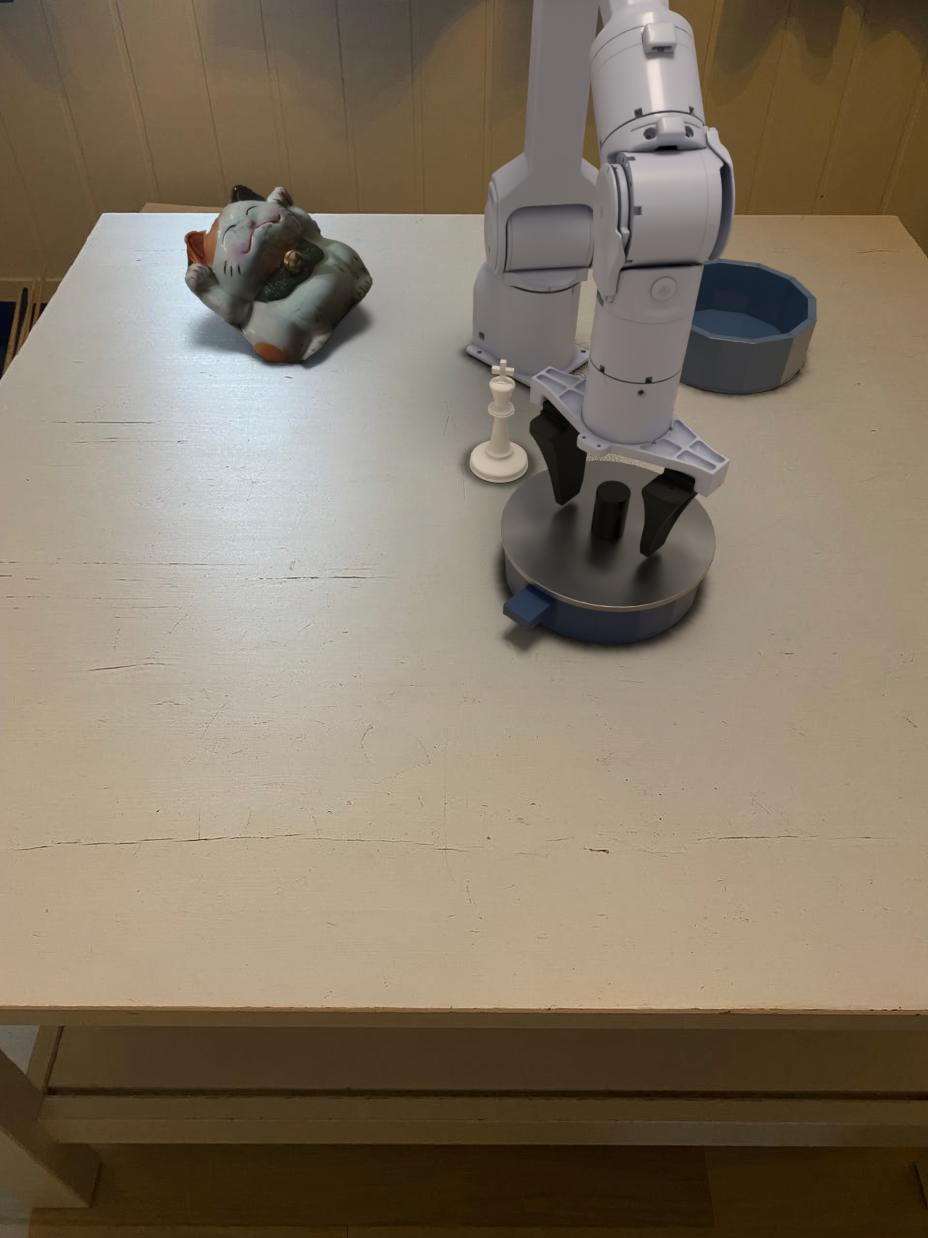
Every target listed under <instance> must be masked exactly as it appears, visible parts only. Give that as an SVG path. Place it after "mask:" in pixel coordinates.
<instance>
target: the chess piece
mask: <svg viewBox="0 0 928 1238" xmlns="http://www.w3.org/2000/svg"><path fill="white" fill-rule="evenodd" d="M506 363H507V360H502V359H501V361H500V366H491V374H493V375H498V376H495V377H492V378H491V379H490V381H489V386H488V387H489V389H490V392H491V394H492V398H493V401H491V402H490V403H489V404H488V407H487V412H488V414H489V415H490V416H492V417H493V418H494V419H493V425H492V430H491V436H490V440H487V441H486V440H485V441H484V442H481V443H479V444H477V445H476V446H475V447H474V449H473V450H472V451H471V454H470V459H469V468H470V470H471V471H472V473H473V474H474V475H475V476H476V477H478V478H479V479H481V480H484V481H486V482H490V483H497V484H499V483H500V484H503V483H509V482H514V481H515V480H518V479H521V477H523V476H524V475H525V473H526V472H527V470H528V468H529V461H528V455H527V452H526V451H525V449H524V448H523V447H521V446H520V445H519V444H517V443H515V442H513V441H510V438H509V437H510V435H509V427H508V418H509V417H511V416H512V415H514V413H515V406H514V404H513V403H512V402H511V401H510V400H511V397H512V394H513V392H514V390H515V388H516V382H515V380H514V379H513V378H512V377H511V376H513V375H514V368H509V367H506Z"/></svg>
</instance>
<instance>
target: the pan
mask: <svg viewBox="0 0 928 1238" xmlns="http://www.w3.org/2000/svg"><path fill="white" fill-rule="evenodd" d="M504 563H505V578H506V583H507V586H508V588H509V591H510V592H511V594H512V597H510V598H509V599H508V600H507V601H505V602H504V603H503V604H502V605H503V606H502V614H503V615H504V616H506V617H507V618H509V619H510V620H511V621H513V622H514V623H515V624H517V625H519V626H520V627H521V628H523V629H524V630H525V631H527V632H529V631H531V630H532V629H533V628H535V626H538V624H540V625H542V626H544V627H546V628H548V629H549V630H551V631H554V632H556V633H558V634H559V635H561V636H562V635H563V636H565V637H568V638H571V639H575V640H578V641H583V642H588V643H595V644H608V645H609V644H611V645H615V644H627V643H634V642H639V641H643V640H647V639H649V638H652V637H655V636H657V635H659V634H661V633H663V632H665V631H667V630H668V629H670V628H672V627H673V626H674V625H675V624H677V623H678V622H679V621H680V620H681V619H682V618H683V617H684V616H685V615H686V614H687V613H688V612H689V610H690V608H691V607H692V606H693V603H694V601H695V597H696V594H697V592H698V591H697V590H698V587H699V584H700V582H699V583H698V585H697V586H696V587H694V588H693V589H692V590H691V591H689V592H688V593H687V594H685V595H683V596H682V597H680V598H678V599H676V600H674V601H672V602H670V603H667V604H665V605H662V606H658V607H655V608H651V609H646V610H640V611H631V612H606V611H598V610H591V609H586V608H582V607H578V606H574V605H571V604H568V603H565V602H563V601H560V600H558V599H556V598H554V597H551V596H549V595H548V594H546V593H544V592H543V591H541V590H539V589H538V588H536V587H535V586H534V585H532V584H531V583H530V582H528V581H527V580H526V579H525V578H524V577H523V576H522V575H521V574H520V573H519V572H518V571H517V570H516V568H515V567H514V566H513V565H512V563H511V562H510V560H509V558H508V556H507V554H506V552H505V551H504Z"/></svg>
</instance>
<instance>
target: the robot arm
mask: <svg viewBox="0 0 928 1238" xmlns="http://www.w3.org/2000/svg"><path fill="white" fill-rule="evenodd" d="M532 3H533V4H532V17H531V19H532V20H531V34H530V35H531V36H530V49H529V50H530V51H529V52H530V53H529V67H528V68H529V69H528V81H527V82H528V83H527V84H528V85H527V99H526V113H525V114H526V116H525V130H524V131H525V132H524V146H523V147H524V148H523V152H522V153H520V154H519V155H517V156H515V157H514V158H513V159H512V160H510V161H508V162H507V163H505V164H504V165H503V166H501V167H500V168H498V169H497V170H495V171H494V172H493V173H492V174H491V176H490V181H489V183H488V189H487V199H486V203H485V207H484V217H483V235H484V237H483V239H484V252H485V259H486V260H485V261H484V262H483V263H482V265H481V266H480V268H479V270H478V272H477V274H476V277H475V282H474V285H473V291H472V338H471V339H472V343H471V344H469V345H468V346H466V353H467V354H468V355H470V356H472V357H474V358H476V359H478V360H480V361H481V362H483V363H485V364H487V365H489V366H490V367H492V366H500V361H501V359H502V360H507V363H506V367H509V368H514V375H513V376H510V378H512V379H515V380H517V382H519V383H522V384H524V385H526V386H528V387H530V390H529V391H530V392H529V402H531V403H533V404H534V405H536V406H538V407H542V409H540V412H539V414H538V415H536V416H535V417H534V418H532V419H531V420H530V422H529V428H528V433H529V435H530V436H531V437H532V439H533V440H534V442H535V443H536V445H537V447H538V448H539V451H540V452H541V455H542V457H543V459H544V462H545V464H546V465H545V466H546V468H547V469H548V471H549V475H550V479H551V483H552V487H553V492H554V497H555V501H556V503H558V504H559V505H561V506H563V505H564V504H566V503H567V502H568V501H570V500H571V499H572V498H574V497H575V496H576V495H578V494H579V493H580V490H581V487H582V483H583V479H584V472H585V465H586V461H587V457H588V454H589V455H590V456H592V457H595V458H603V457H605V456H607V455H608V454H613V455H617V456H621V457H625V458H628V459H633V460H636V461H640V462H643V463H646V464H651V465H654V466H658V467H662V468H664V469H663V472H662V473H659V475H658V476H657V477H656V478H654V479H653V480H652V481H650V482H649V483H648V484H647V485H645V486H644V487H643V488H642V491H641V494H642V497H643V502H644V527H643V531H642V536H641V541H640V553H641V554H642V555H644V556H646V557H650V556H651V555H652V554H653V553H655V552H656V551H657V550H658V549H659V548H660V547H662V546H663V545H664V543H665V541H666V539H667V537H668V535H669V533H670V531H671V529H672V527H673V526H674V524H675V522H676V521H677V519H678V518H679V516H680V515H681V513H682V512H683V511H684V509H685V508H686V507H687V506H688V504H689V503H690V502H691V501H692V500H693V499H694V498H696V496H697V495H698V494H699V495H701V496H702V497H705V498H708V497H709V496H711V495H712V494H713V493H715V492H716V491H717V490H718V489H719V488H720V487H721V486H723V485H724V484H725V481H726V477H727V475H728V474H727V473H728V470H729V467H730V462H731V459H730V458H728V457H727V456H725V455H723V454H721V453H720V452H718V451H717V450H715V449H714V448H712V447H711V446H710V444H708V443H707V442H705V440H704V439H702V438H701V437H700V436H699V435H698V434H697V433H696V432H695V431H694V430H693V429H692V428H690V426H689V425H687V424H686V422H684V421H683V420H682V419H681V418H680V417H679V416H678V415H677V414H676V413H675V411H674V410H675V405H676V400H677V396H678V390H679V385H680V382H681V381H680V377H681V372H682V367H683V363H684V358H685V354H686V349H687V344H688V339H689V334H690V330H691V325H692V320H693V315H694V311H695V306H696V301H697V296H698V291H699V287H700V282H701V277H702V272H703V268H704V265H703V262H705V261H706V260H709V261H716V260H718V259H719V258H721V257H722V256H723V254H724V253H725V250H726V249H727V246H728V244H729V241H730V237H731V233H732V230H733V225H734V220H735V219H734V217H735V209H736V183H735V173H734V165H733V160H732V157H731V155H730V153H729V150H728V149H727V147H725V145H723V144H722V142H721V140H720V136H719V131H718V129H717V127H709V126H708V125H706V119H705V118H706V117H705V110H704V103H703V95H702V87H701V83H700V82H701V80H700V73H699V66H698V57H697V49H696V45H695V43H696V42H695V35H694V31H693V28H692V25H690V23H689V21H688V20H687V19H686V18H685V17H684V16H683V15H681V14H679V13H678V12H675V11H673V10H671V9H670V1H669V0H533V2H532ZM599 11H600V15H601V21H602V25H603V28H602V29H601V31H600V32H599V33H598V34H597V35H596V33H597V27H598V26H597V24H598V17H599ZM590 89H591V90H590ZM590 91H591V97H592V105H593V113H594V121H595V122H594V123H595V129H596V137H597V146H598V154H599V163H600V168H599V169H598V168H596V166H594V165H593V164H592V163H590V162H589V161H588V160H586V159H585V158H584V157H583V151H584V143H585V133H586V127H587V126H586V124H587V115H588V105H589V97H590ZM589 270H592V278H593V281H594V284H595V286H596V296H595V304H594V312H593V320H592V328H591V336H590V344H589V349H586V348H585V347H582V346H581V345H579V344H576V337H577V328H578V318H579V307H580V300H581V299H580V298H581V289H582V282H587V281H588V279H589ZM585 363H587V368H586V369H587V370H586V377H583V376H579V375H575V374H571V373H572V372H573V371H574V370H576V369H577V368H579V367H581V366H582V365H584V364H585ZM660 474H661V475H660Z"/></svg>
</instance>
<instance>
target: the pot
mask: <svg viewBox="0 0 928 1238" xmlns="http://www.w3.org/2000/svg"><path fill="white" fill-rule="evenodd" d="M703 265H704V268H703V272H702V277H701V282H700V287H699V291H698V296H697V301H696V306H695V311H694V315H693V320H692V325H691V330H690V334H689V339H688V344H687V349H686V354H685V358H684V363H683V367H682V372H681V377H680V381H679V382H682V383H684V384H686V385H688V386H691V387H694V388H696V389H701V390H705V391H708V392H714V393H719V394H728V395H729V394H731V395H744V394H745V395H747V394H749V395H750V394H755V393H762V392H766V391H770V390H773V389H776V388H778V387H780V386H783V385H784V384H786V383H788V382H789V381H791V379H792V378H794V377H795V375H796V374H797V373H798V371H799V370H800V369H802V368H803V365H804V362H805V359H806V356H807V353H808V350H809V347H810V344H811V340H812V337H813V334H814V331H815V328H816V325H817V321H818V311H817V310H818V309H817V308H818V306H817V305H818V304H817V303H818V301H817V300H818V299H817V297H816V296H815V295H814V294H813V293H812V292H811V291H809V290H808V288H806V286H805V285H804V284H802V282H801V281H800V280H799V279H797V278H796V277H795V276H793V275H791V274H787V273H786V272H782V271H780V270H777V269H775V268H772V267H770V266H768V265H765V264H763V263H761V262H753V261H745V260H738V259H737V260H736V259H728V258H721V257H720V258H719V259H718V260H716V261H709V260H708V259H707V260H706V261H705V262H703Z"/></svg>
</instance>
